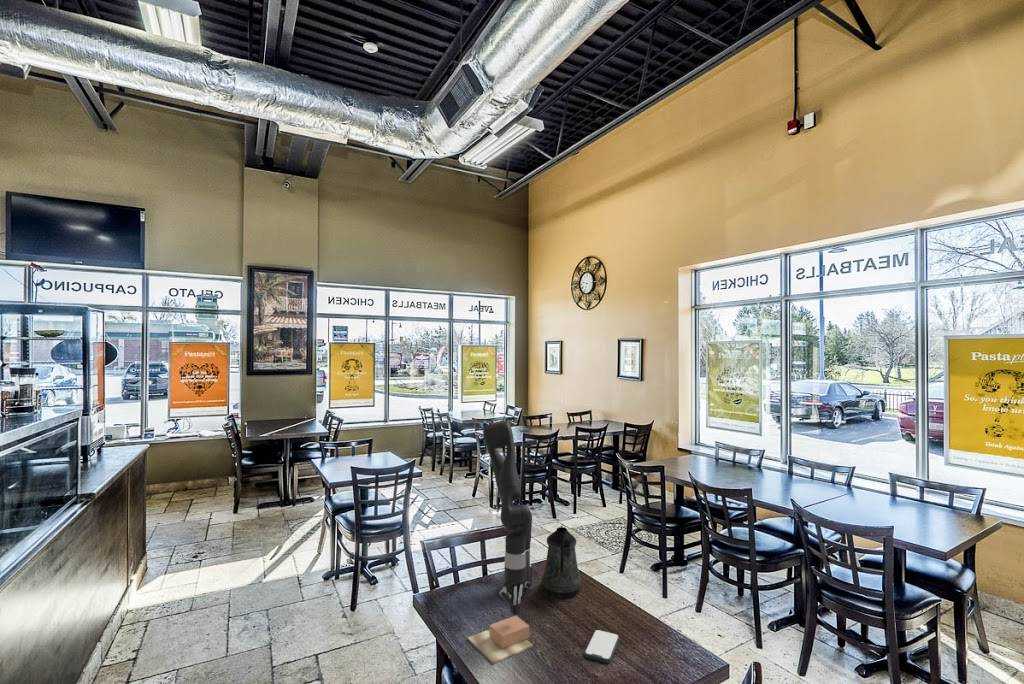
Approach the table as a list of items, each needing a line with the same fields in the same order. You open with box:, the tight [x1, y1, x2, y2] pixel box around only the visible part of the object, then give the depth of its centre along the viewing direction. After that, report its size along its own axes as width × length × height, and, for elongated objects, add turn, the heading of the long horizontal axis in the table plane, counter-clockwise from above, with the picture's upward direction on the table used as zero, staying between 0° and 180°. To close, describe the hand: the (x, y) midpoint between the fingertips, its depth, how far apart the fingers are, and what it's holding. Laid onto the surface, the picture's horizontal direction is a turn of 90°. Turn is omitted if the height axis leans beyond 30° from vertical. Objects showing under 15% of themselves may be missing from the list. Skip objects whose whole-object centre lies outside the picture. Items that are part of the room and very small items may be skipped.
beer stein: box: [541, 526, 582, 599], centre depth 203 cm, size 16×19×25 cm
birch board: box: [467, 628, 534, 665], centre depth 166 cm, size 16×16×1 cm
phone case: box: [583, 629, 620, 664], centre depth 164 cm, size 9×2×16 cm
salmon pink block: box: [489, 615, 530, 649], centre depth 168 cm, size 4×8×11 cm
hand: (514, 613), depth 169 cm, fingers closed
